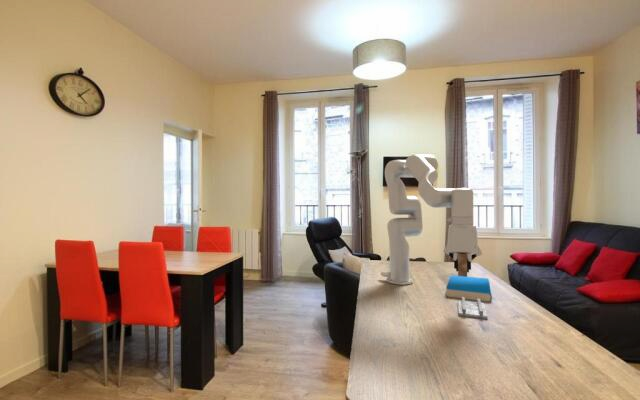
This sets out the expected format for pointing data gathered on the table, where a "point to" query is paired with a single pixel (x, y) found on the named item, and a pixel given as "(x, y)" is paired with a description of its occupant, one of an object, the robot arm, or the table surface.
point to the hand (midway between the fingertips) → (462, 270)
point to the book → (469, 288)
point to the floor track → (472, 309)
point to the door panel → (462, 264)
